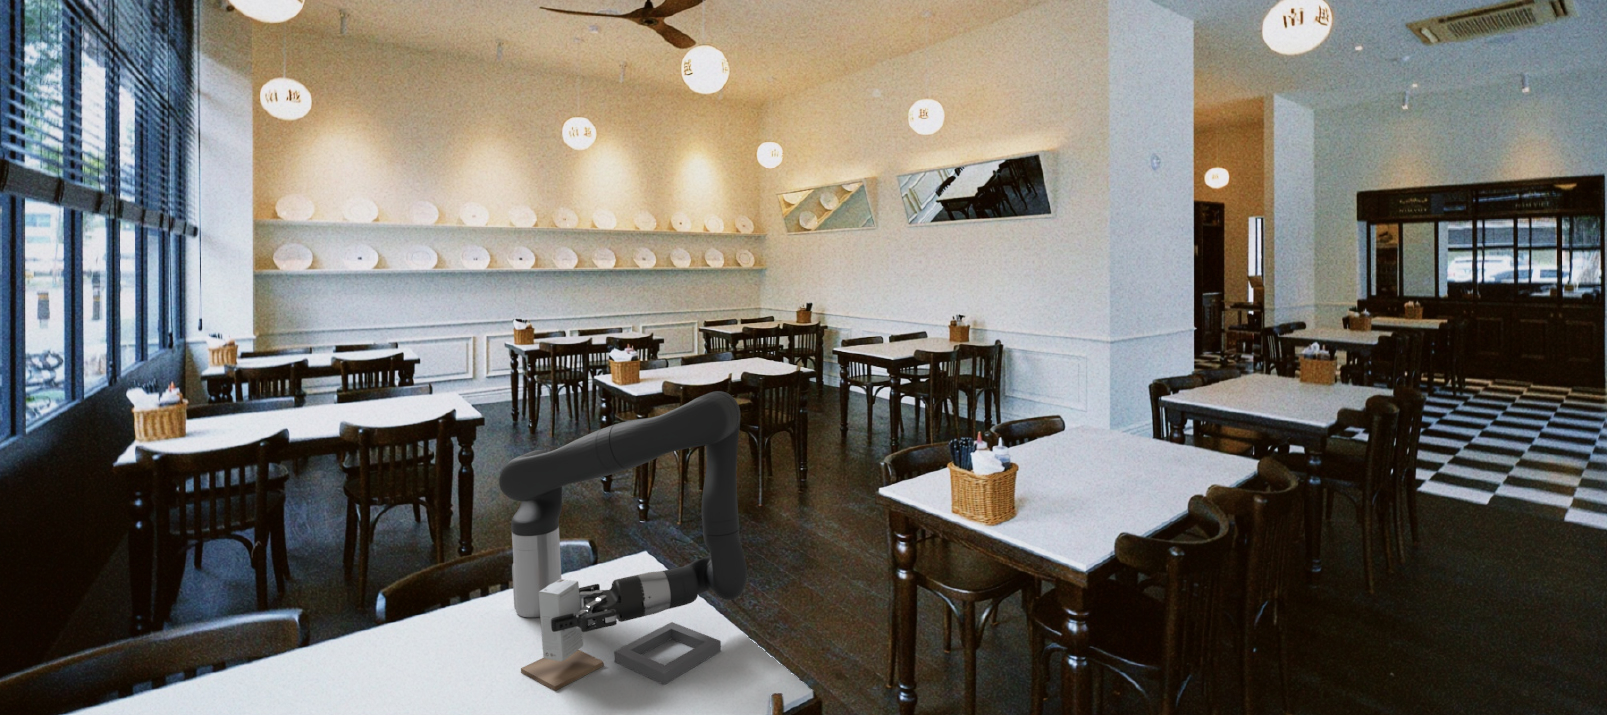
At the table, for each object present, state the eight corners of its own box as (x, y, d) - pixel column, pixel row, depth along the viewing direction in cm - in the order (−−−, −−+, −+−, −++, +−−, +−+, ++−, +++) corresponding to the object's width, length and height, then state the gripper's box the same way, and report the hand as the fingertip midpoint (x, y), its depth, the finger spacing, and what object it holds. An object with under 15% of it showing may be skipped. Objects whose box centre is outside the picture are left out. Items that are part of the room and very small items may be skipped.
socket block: (614, 661, 133) (614, 651, 133) (672, 631, 144) (671, 621, 144) (664, 684, 125) (663, 673, 125) (721, 651, 136) (720, 640, 136)
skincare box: (563, 662, 127) (558, 594, 126) (541, 658, 128) (536, 591, 127) (584, 645, 133) (580, 580, 131) (563, 642, 134) (559, 577, 133)
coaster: (521, 672, 130) (520, 668, 130) (569, 649, 138) (569, 645, 138) (555, 690, 124) (555, 686, 124) (603, 665, 132) (603, 661, 132)
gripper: (629, 563, 142) (539, 581, 135) (651, 589, 130) (553, 612, 122) (631, 600, 143) (542, 621, 135) (653, 630, 131) (556, 655, 123)
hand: (547, 616), depth 129 cm, fingers closed on skincare box, 7 cm apart
